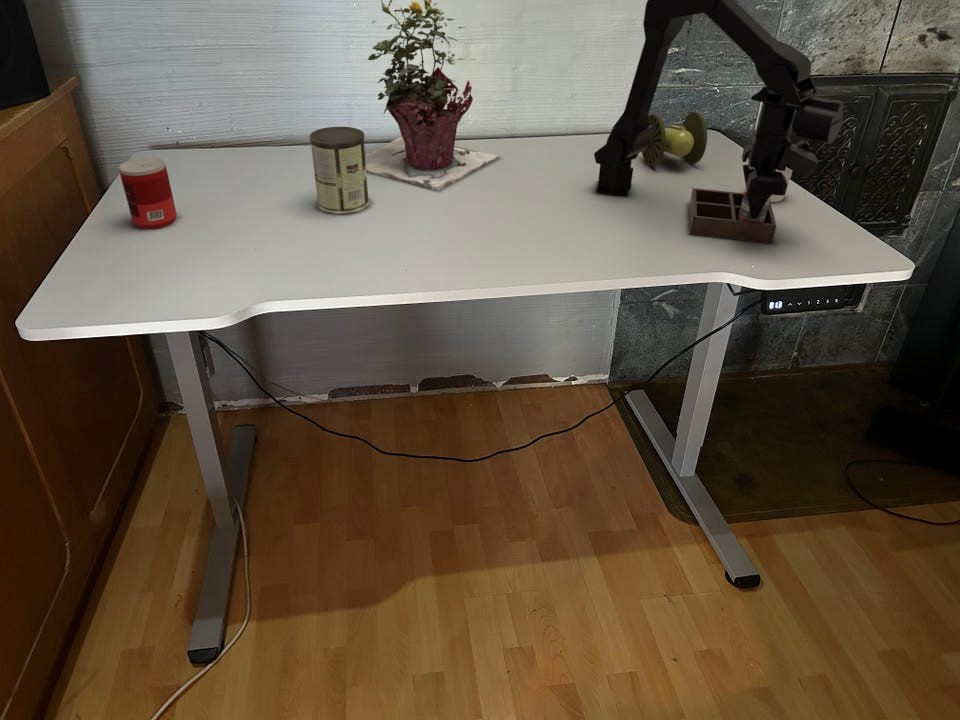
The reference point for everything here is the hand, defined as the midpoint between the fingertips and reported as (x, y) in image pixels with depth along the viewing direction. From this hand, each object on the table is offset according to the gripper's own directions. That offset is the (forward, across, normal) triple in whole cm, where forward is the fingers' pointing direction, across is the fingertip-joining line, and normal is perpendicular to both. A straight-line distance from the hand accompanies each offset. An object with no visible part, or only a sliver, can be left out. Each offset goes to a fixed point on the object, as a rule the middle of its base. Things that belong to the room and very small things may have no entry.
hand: (752, 212), depth 140 cm
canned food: (+5, -25, +110) cm, 113 cm away
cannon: (+4, +40, +18) cm, 44 cm away
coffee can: (+5, -8, +79) cm, 79 cm away
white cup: (+4, +20, -5) cm, 21 cm away
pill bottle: (+2, 0, 0) cm, 2 cm away
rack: (+4, +4, +3) cm, 6 cm away
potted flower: (+5, +20, +71) cm, 74 cm away
